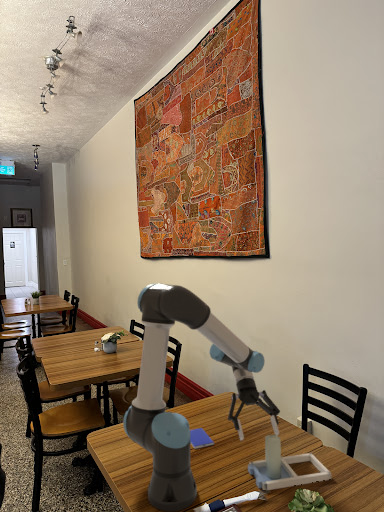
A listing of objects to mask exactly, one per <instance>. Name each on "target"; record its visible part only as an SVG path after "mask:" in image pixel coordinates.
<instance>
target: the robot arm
mask: <svg viewBox="0 0 384 512" xmlns="http://www.w3.org/2000/svg"><path fill="white" fill-rule="evenodd" d="M137 308H138V309H139V312H141V319H140V320H141V323H142V324H143V325H144V334H143V342H142V349H141V350H142V351H141V352H142V353H141V361H140V366H139V367H140V368H139V378H138V387H137V396H136V397H135V398H134V399H133V400H132V402H131V405H130V406H129V407H128V410H126V411H125V413H124V417H123V421H122V425H123V430H124V432H125V434H126V436H127V437H128V438H129V439H130V440H131V441H132V442H134V443H135V444H136V445H139V446H140V447H141V448H143V449H144V450H146V451H147V452H149V453H150V454H151V455H152V473H151V478H150V482H148V483H149V484H148V487H147V500H148V502H149V504H150V505H151V506H152V507H153V508H155V509H157V510H158V511H164V512H178V511H182V510H185V509H186V508H188V507H190V506H191V505H192V504H194V503H195V501H196V499H197V495H198V487H197V483H196V480H195V477H194V474H193V471H192V469H191V443H190V435H191V434H190V430H191V429H190V423H189V420H188V419H187V418H186V417H185V416H184V415H182V414H181V413H177V412H172V411H166V407H167V404H166V402H165V400H164V399H163V396H164V394H163V393H164V385H165V375H166V366H167V357H168V348H169V340H170V330H171V328H173V327H174V326H175V325H176V324H175V323H176V322H177V323H181V324H183V325H185V326H186V327H188V328H189V329H190V330H193V331H195V330H196V331H197V332H198V333H200V334H201V335H202V336H203V337H205V338H206V339H207V340H208V341H209V342H211V346H210V348H209V355H210V358H211V359H212V360H214V361H216V362H218V363H222V364H224V365H227V366H228V367H229V366H230V367H231V370H232V373H233V377H234V382H235V383H236V385H235V386H236V390H237V393H238V394H236V393H235V392H233V393H232V394H231V396H230V397H231V403H230V404H231V405H230V408H229V411H228V415H227V416H228V417H227V421H229V422H231V421H232V423H233V425H234V430H235V431H237V433H238V437H239V441H241V442H242V441H243V440H244V439H245V434H244V431H243V427H242V423H241V419H240V418H239V416H240V414H241V412H242V410H243V408H244V406H247V407H248V406H254V405H256V406H257V407H259V408H261V409H262V410H263V411H264V412H266V413H267V415H269V416H270V417H269V420H270V423H271V426H272V429H273V432H274V435H276V436H278V437H279V435H280V430H279V427H278V426H279V420H278V416H279V414H280V412H281V410H280V408H278V406H277V405H276V404H275V403H274V402H273V400H272V399H271V398H270V397H269V395H268V394H267V392H266V390H265V389H263V390H262V391H258V388H257V385H256V381H255V378H254V375H253V374H254V373H255V374H256V373H257V374H258V373H260V372H261V371H262V370H263V368H264V366H265V357H264V354H263V353H261V352H259V351H257V350H252V349H251V348H250V347H249V346H248V345H247V344H246V343H245V342H243V340H241V338H239V337H238V336H237V335H236V334H235V333H234V332H233V331H231V329H229V328H228V326H226V325H225V324H224V323H223V322H222V321H221V320H220V319H219V318H217V316H215V315H214V314H213V313H212V311H211V307H210V306H209V305H208V304H207V303H206V302H205V301H204V300H202V298H200V297H199V296H198V295H196V294H195V293H194V292H192V291H191V290H190V289H188V288H186V287H184V286H181V285H178V284H166V283H161V282H160V283H151V284H148V285H146V286H145V287H144V288H142V290H141V291H140V293H139V294H138V297H137ZM238 399H239V401H241V402H240V405H239V407H238V409H237V411H236V412H235V411H234V409H235V407H236V403H237V400H238ZM262 399H263V400H262ZM234 412H235V415H234Z"/></svg>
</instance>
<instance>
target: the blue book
mask: <svg viewBox="0 0 384 512" xmlns="http://www.w3.org/2000/svg"><path fill="white" fill-rule="evenodd" d="M190 434H191V435H190V446H192V448H193V449H194V450H195V449H196V450H197V449H200V448H205V447H209V446H214V445H215V442H214V440H212V438H211V437H210V436H209V434H208V433H207V432H206V431H205V430H204V429H203V428H202V427H200V428H194V429H190Z"/></svg>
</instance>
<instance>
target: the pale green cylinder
mask: <svg viewBox="0 0 384 512" xmlns="http://www.w3.org/2000/svg"><path fill="white" fill-rule="evenodd" d="M264 451H265V452H264V453H265V454H264V455H265V460H266V476H267V477H269V478H271V479H279V478H280V477H281V457H282V454H281V453H282V451H281V437H280V436H279V435H278V436H276V435H275V434H267V435H266V436H265V437H264Z"/></svg>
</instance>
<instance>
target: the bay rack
mask: <svg viewBox="0 0 384 512" xmlns="http://www.w3.org/2000/svg"><path fill="white" fill-rule="evenodd" d="M304 462H311V463H312V465H313V466H314V467H315V468H316V469H317V470H318V471H319V472H316V473H311V474H310V473H309V474H303V475H298V474H297V473H296V472H295V471H294V470H293V469H292V466H290V465H292V464H296V463H297V464H298V463H304ZM247 471H248V473H249V475H250V476H252V475H253V477H254V478H255V484H256V487H257V488H258V489H259V490H260V489H262V491H263V490H266V491H271V490H278V489H283V488H288V487H295V486H294V485H296V486H301V484H302V485H307V484H312V482H313V483H317V482H316V481H319V482H324V481H323V480H325V481H329V479H331V480H332V473H331V471H330V470H329V469H328V468H327V467H326V466H325V465H323V463H322V462H321V461H319V459H318V458H317V457H316V456H315V455H314V454H313V453H312V452H309V453H302V454H301V453H300V454H296V455H295V454H294V455H288V456H281V477H280V478H279V479H271V478H269V477H267V476H266V459H262V460H255V461H254V460H253V461H249V462H248V464H247Z"/></svg>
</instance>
